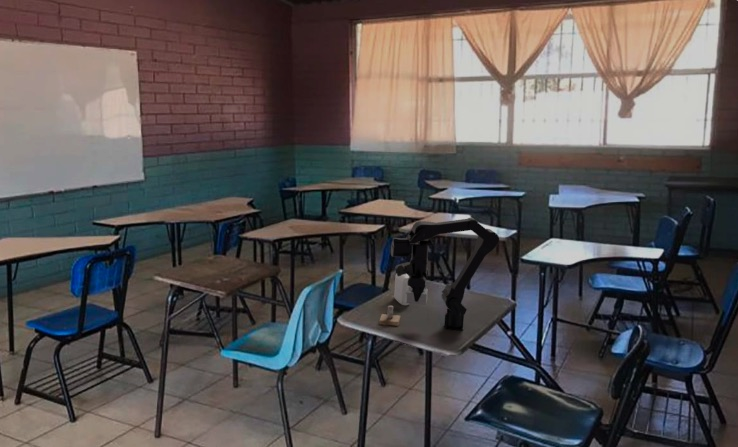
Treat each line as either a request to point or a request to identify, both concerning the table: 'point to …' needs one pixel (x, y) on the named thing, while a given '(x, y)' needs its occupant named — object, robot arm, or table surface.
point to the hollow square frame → (421, 300)
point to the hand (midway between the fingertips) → (417, 298)
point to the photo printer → (401, 288)
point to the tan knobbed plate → (389, 318)
